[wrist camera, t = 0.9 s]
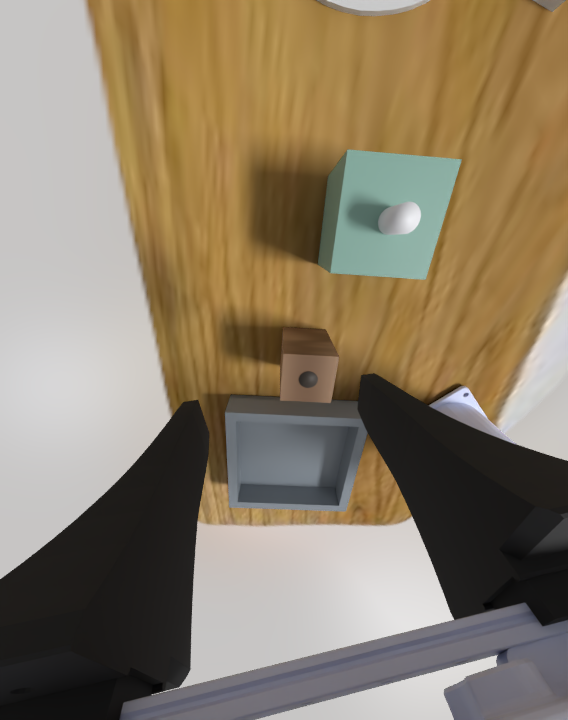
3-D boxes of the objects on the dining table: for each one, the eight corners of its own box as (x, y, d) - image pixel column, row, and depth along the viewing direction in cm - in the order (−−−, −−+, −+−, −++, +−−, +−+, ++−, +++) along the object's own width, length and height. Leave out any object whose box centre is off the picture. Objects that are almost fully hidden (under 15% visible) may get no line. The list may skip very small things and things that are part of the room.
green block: (408, 183, 18) (490, 146, 11) (388, 269, 21) (444, 284, 14) (327, 176, 18) (358, 134, 11) (317, 264, 21) (336, 277, 13)
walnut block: (325, 329, 23) (339, 357, 18) (320, 367, 25) (331, 403, 19) (282, 327, 23) (283, 353, 18) (280, 365, 25) (280, 400, 19)
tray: (362, 401, 27) (371, 419, 24) (340, 488, 33) (345, 511, 30) (230, 394, 26) (224, 412, 23) (233, 484, 32) (229, 507, 30)
